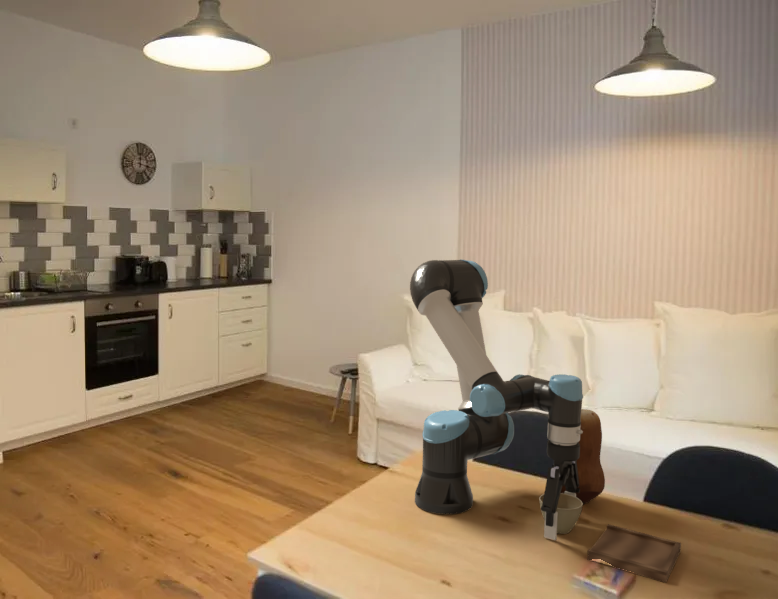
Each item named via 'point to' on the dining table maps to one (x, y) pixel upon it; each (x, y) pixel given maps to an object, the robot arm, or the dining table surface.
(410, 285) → the robot arm
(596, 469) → the butternut squash
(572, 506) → the flower pot
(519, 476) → the dining table surface
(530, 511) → the dining table surface
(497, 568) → the dining table surface
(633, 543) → the walnut board
